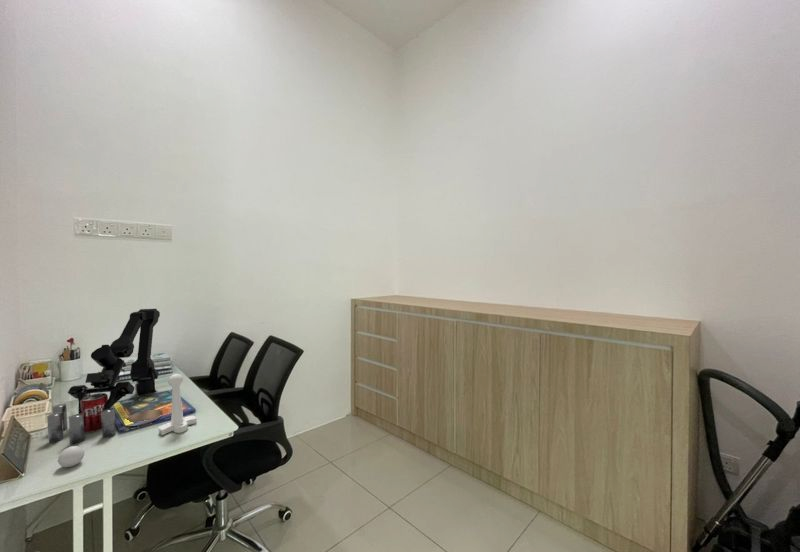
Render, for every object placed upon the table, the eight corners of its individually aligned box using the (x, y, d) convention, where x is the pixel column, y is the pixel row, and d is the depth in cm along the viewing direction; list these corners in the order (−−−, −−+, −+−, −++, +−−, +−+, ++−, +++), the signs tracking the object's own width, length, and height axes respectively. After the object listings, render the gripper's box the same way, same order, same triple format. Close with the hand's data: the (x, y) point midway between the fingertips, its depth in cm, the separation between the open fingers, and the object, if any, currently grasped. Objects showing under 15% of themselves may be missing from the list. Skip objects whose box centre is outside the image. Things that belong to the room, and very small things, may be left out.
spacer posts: (62, 427, 119) (61, 403, 119) (118, 433, 115) (117, 408, 114) (30, 440, 110) (28, 415, 110) (89, 448, 106) (87, 421, 105)
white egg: (90, 459, 99) (89, 441, 99) (72, 471, 94) (71, 452, 94) (65, 460, 99) (63, 442, 99) (45, 472, 94) (44, 453, 93)
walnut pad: (157, 409, 133) (157, 406, 133) (167, 417, 126) (166, 415, 126) (120, 420, 124) (119, 418, 124) (127, 430, 116) (127, 427, 116)
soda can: (113, 426, 120) (111, 394, 119) (88, 435, 113) (86, 402, 113) (103, 422, 123) (101, 391, 122) (78, 431, 116) (76, 398, 116)
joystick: (192, 420, 124) (190, 368, 123) (200, 426, 119) (198, 372, 118) (157, 432, 115) (154, 377, 114) (164, 439, 110) (162, 382, 109)
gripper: (70, 364, 119) (46, 407, 109) (128, 360, 123) (111, 401, 113) (86, 378, 127) (66, 418, 117) (141, 374, 131) (126, 412, 121)
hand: (92, 412), depth 116 cm, fingers closed on soda can, 7 cm apart
